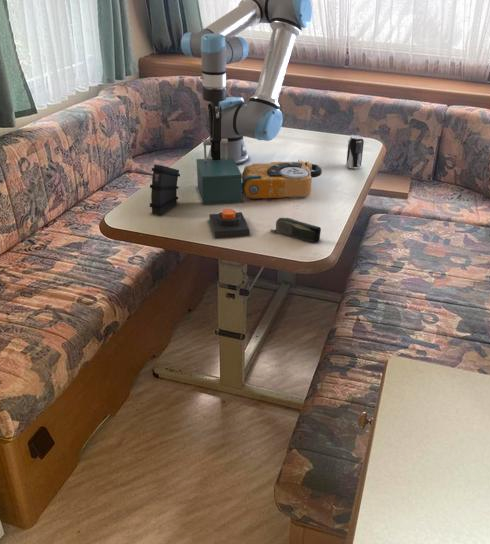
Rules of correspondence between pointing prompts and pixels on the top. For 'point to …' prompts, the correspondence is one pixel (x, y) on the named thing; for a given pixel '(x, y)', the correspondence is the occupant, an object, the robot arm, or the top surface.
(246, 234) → the control block
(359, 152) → the beverage can
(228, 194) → the teal rectangular block
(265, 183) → the device
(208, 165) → the lid
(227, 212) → the button
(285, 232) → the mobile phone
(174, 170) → the magazine
